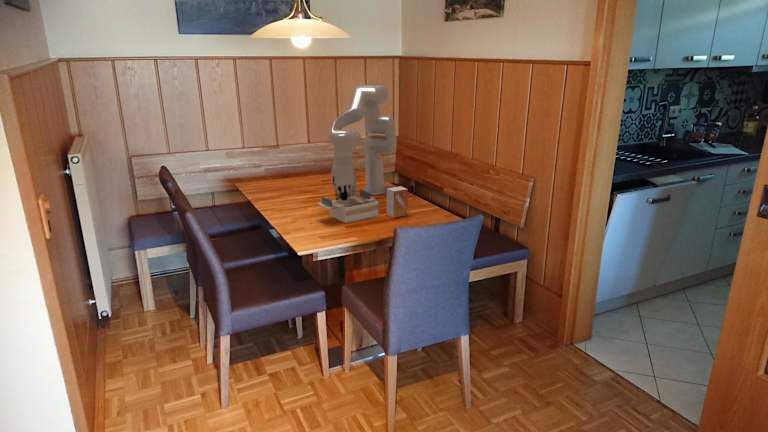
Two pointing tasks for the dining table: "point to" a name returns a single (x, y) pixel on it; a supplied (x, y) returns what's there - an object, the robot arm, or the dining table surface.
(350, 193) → the coffee box
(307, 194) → the dining table surface
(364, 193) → the lid panel
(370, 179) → the robot arm
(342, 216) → the carton
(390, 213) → the small box
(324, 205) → the lid panel
